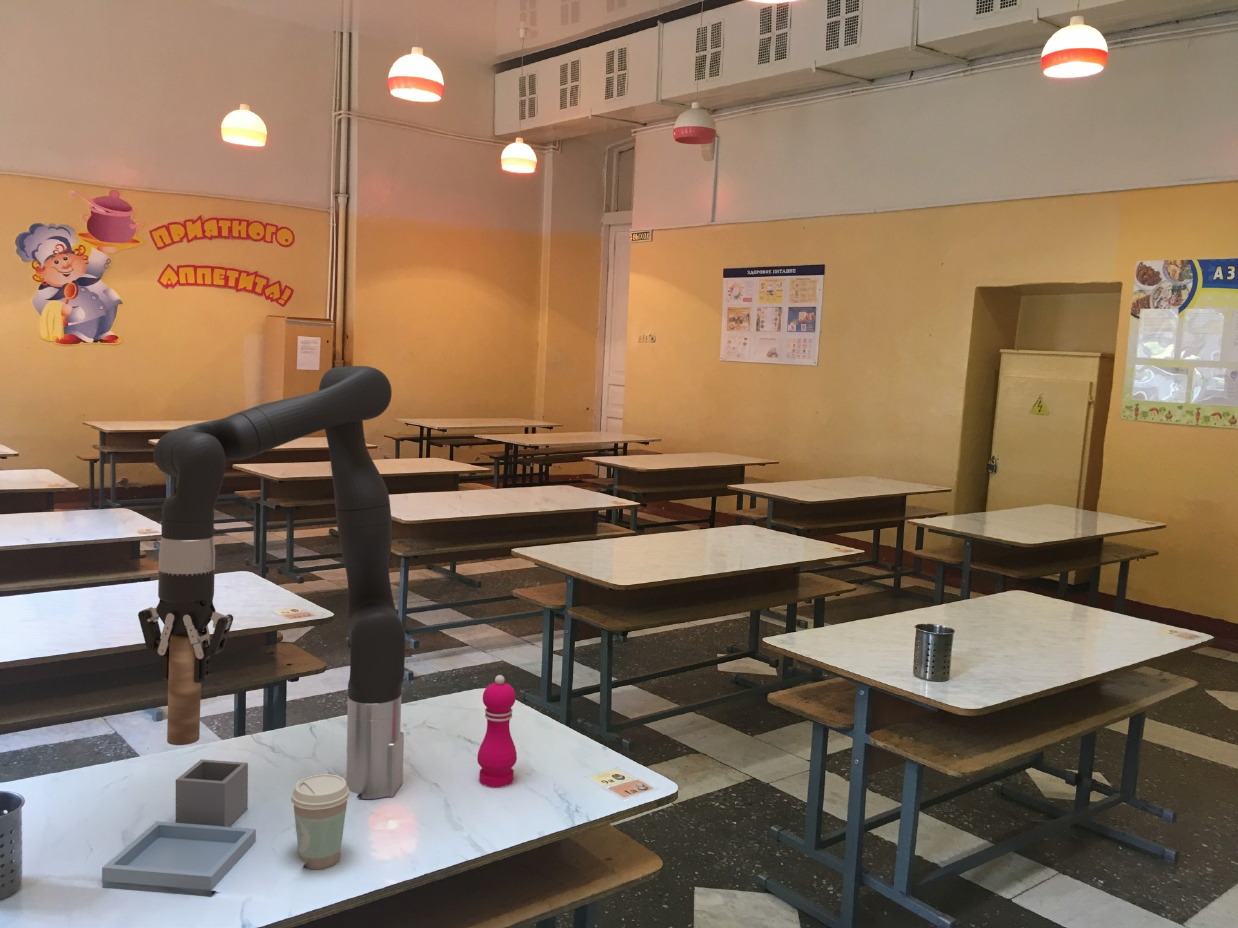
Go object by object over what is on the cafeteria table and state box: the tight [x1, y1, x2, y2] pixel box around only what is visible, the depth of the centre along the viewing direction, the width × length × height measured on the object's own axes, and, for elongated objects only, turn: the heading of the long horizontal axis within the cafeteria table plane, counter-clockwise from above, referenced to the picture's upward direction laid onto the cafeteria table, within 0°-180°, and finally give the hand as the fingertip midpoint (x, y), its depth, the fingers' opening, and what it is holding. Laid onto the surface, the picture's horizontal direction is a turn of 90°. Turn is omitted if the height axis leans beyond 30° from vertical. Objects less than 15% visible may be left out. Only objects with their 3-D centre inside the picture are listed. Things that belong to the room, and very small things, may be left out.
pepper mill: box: [476, 674, 518, 788], centre depth 175 cm, size 7×7×20 cm
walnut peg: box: [166, 633, 202, 746], centre depth 141 cm, size 4×4×16 cm
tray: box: [101, 820, 257, 898], centre depth 141 cm, size 16×14×3 cm
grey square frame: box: [175, 758, 249, 827], centre depth 154 cm, size 8×8×9 cm
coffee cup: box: [290, 773, 351, 870], centre depth 145 cm, size 9×8×12 cm
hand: (184, 679), depth 141 cm, fingers closed on walnut peg, 4 cm apart
